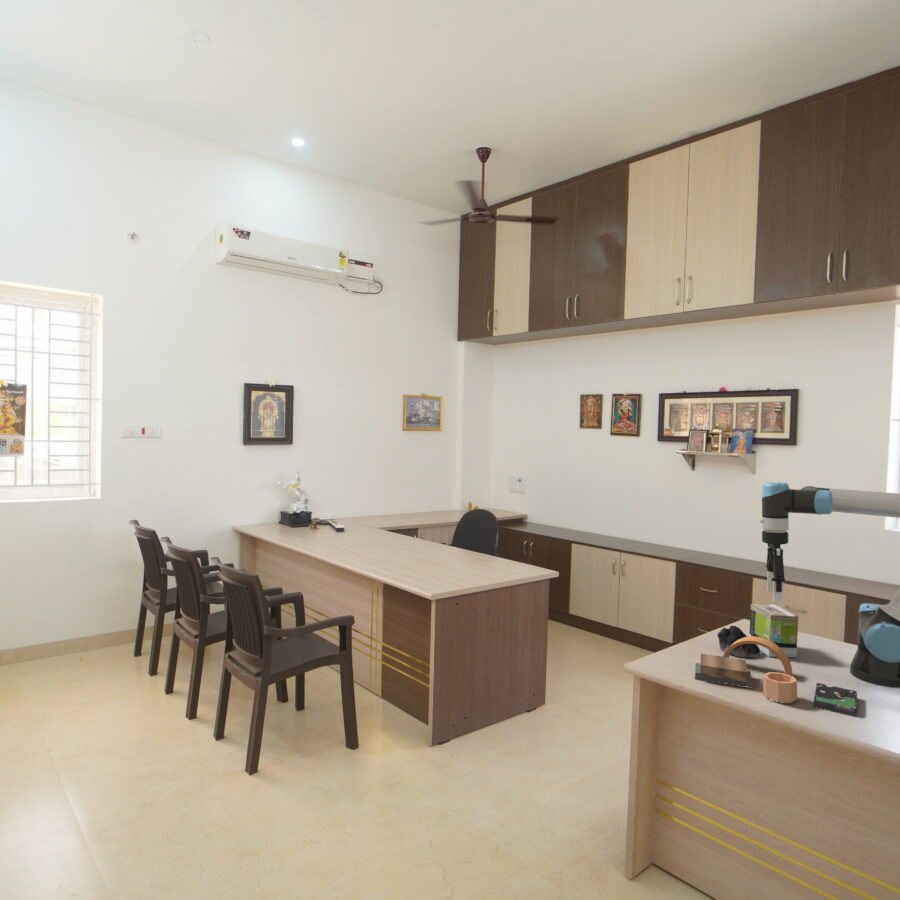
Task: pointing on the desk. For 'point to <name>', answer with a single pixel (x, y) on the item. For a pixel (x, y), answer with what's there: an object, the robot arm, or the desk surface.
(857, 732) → the desk surface
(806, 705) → the desk surface
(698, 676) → the block
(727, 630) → the crystal cluster
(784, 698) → the plant pot
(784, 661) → the arch
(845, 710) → the disk drive
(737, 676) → the cover board
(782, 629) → the tea box
